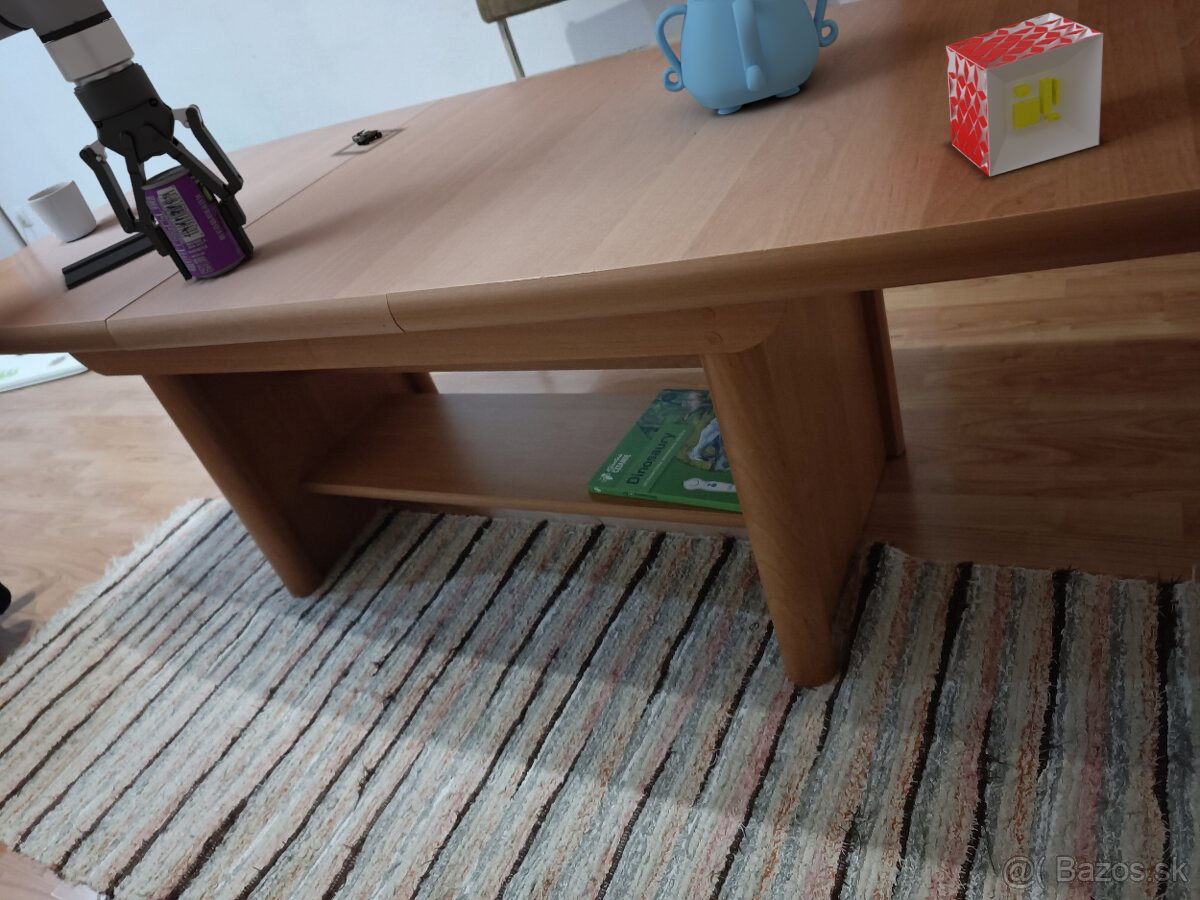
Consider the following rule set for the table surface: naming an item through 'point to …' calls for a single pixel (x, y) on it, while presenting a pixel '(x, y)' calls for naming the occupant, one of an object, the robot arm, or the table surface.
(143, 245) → the slotted black track
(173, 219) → the beverage can
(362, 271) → the table surface
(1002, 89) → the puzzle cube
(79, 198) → the cup
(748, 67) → the decorative pot
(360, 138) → the toy car
